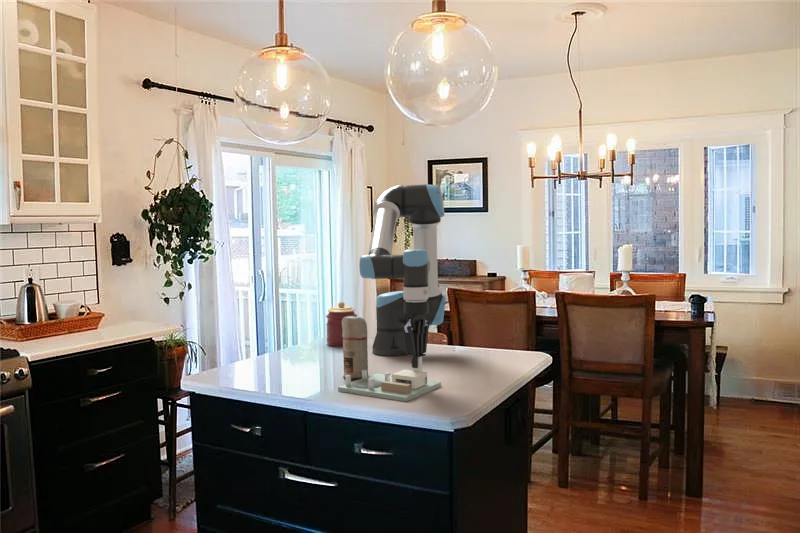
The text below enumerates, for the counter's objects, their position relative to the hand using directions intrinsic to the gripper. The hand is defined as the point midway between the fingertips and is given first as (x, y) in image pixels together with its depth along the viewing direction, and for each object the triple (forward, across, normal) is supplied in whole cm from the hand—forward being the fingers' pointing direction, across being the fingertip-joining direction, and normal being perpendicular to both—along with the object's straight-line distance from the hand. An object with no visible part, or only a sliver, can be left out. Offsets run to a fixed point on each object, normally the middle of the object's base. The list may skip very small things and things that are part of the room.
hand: (417, 377), depth 200 cm
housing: (+1, -4, 0) cm, 4 cm away
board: (+3, -6, +6) cm, 9 cm away
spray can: (+3, +1, +24) cm, 24 cm away
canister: (+3, +46, +64) cm, 79 cm away
